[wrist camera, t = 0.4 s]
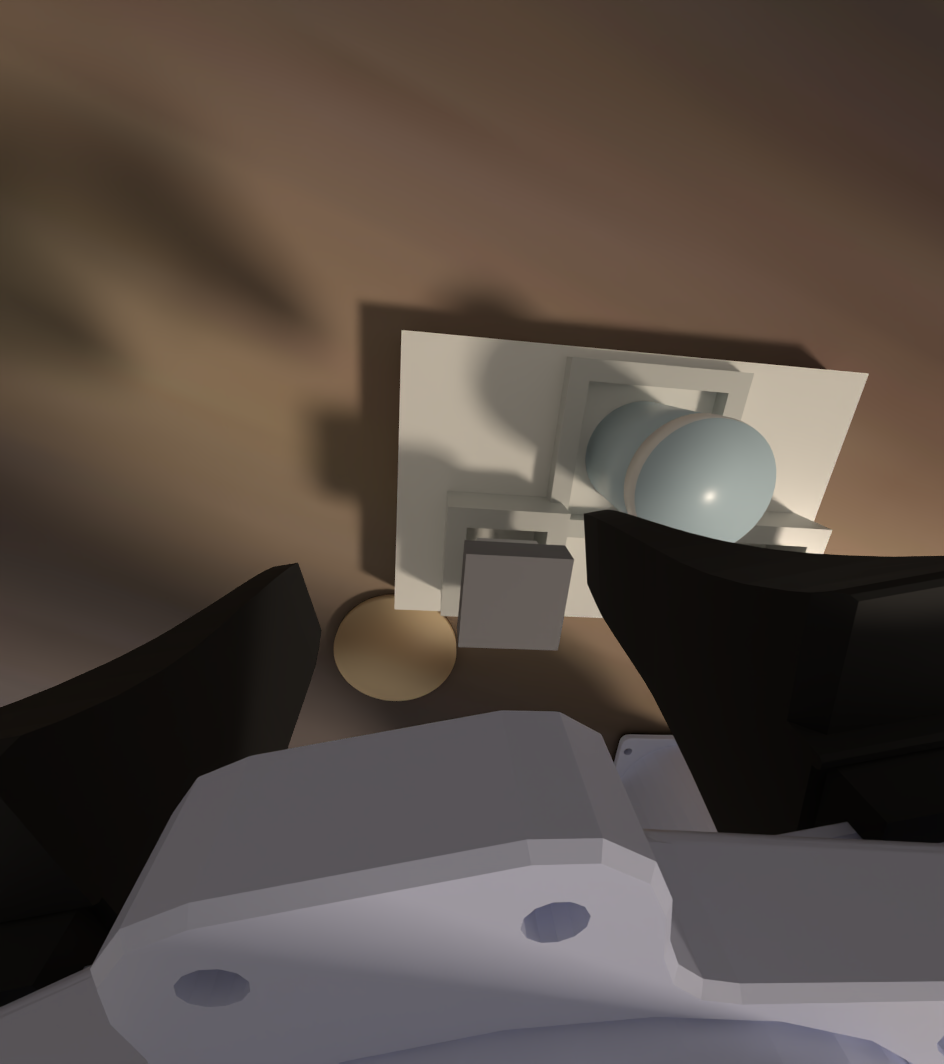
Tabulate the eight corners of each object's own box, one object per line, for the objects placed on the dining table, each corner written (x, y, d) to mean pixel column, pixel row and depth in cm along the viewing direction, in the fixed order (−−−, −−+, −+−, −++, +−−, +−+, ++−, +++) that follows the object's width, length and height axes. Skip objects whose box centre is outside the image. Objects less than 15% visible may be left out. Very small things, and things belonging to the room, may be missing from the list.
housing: (750, 604, 25) (807, 651, 21) (398, 588, 23) (389, 636, 19) (830, 372, 21) (921, 375, 17) (405, 332, 19) (395, 326, 15)
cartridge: (674, 508, 20) (752, 559, 15) (576, 502, 20) (622, 552, 15) (701, 404, 19) (798, 423, 14) (594, 395, 18) (653, 410, 13)
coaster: (452, 696, 26) (452, 702, 25) (336, 693, 25) (334, 699, 25) (460, 596, 24) (460, 601, 23) (334, 591, 23) (331, 596, 23)
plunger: (541, 607, 19) (557, 650, 16) (455, 603, 19) (458, 646, 16) (553, 527, 18) (574, 559, 15) (462, 522, 18) (466, 554, 15)
